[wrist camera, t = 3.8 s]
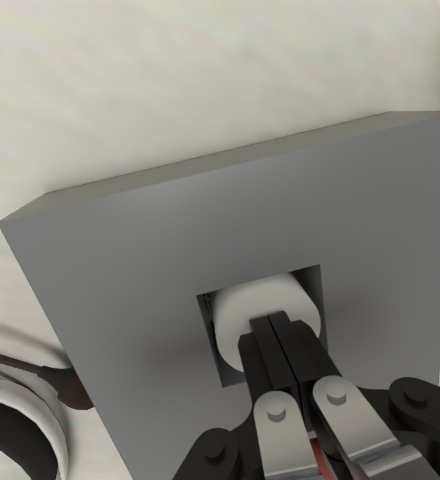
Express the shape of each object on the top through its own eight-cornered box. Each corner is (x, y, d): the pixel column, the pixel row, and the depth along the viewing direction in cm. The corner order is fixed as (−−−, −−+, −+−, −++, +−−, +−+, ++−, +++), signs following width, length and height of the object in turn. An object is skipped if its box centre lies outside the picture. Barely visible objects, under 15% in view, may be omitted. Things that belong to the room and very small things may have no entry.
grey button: (283, 237, 16) (315, 275, 12) (293, 308, 17) (324, 360, 14) (198, 258, 16) (205, 303, 12) (217, 328, 17) (228, 385, 14)
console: (389, 111, 14) (462, 110, 11) (388, 445, 24) (427, 506, 20) (45, 193, 14) (-4, 222, 10) (183, 503, 23) (184, 576, 19)
